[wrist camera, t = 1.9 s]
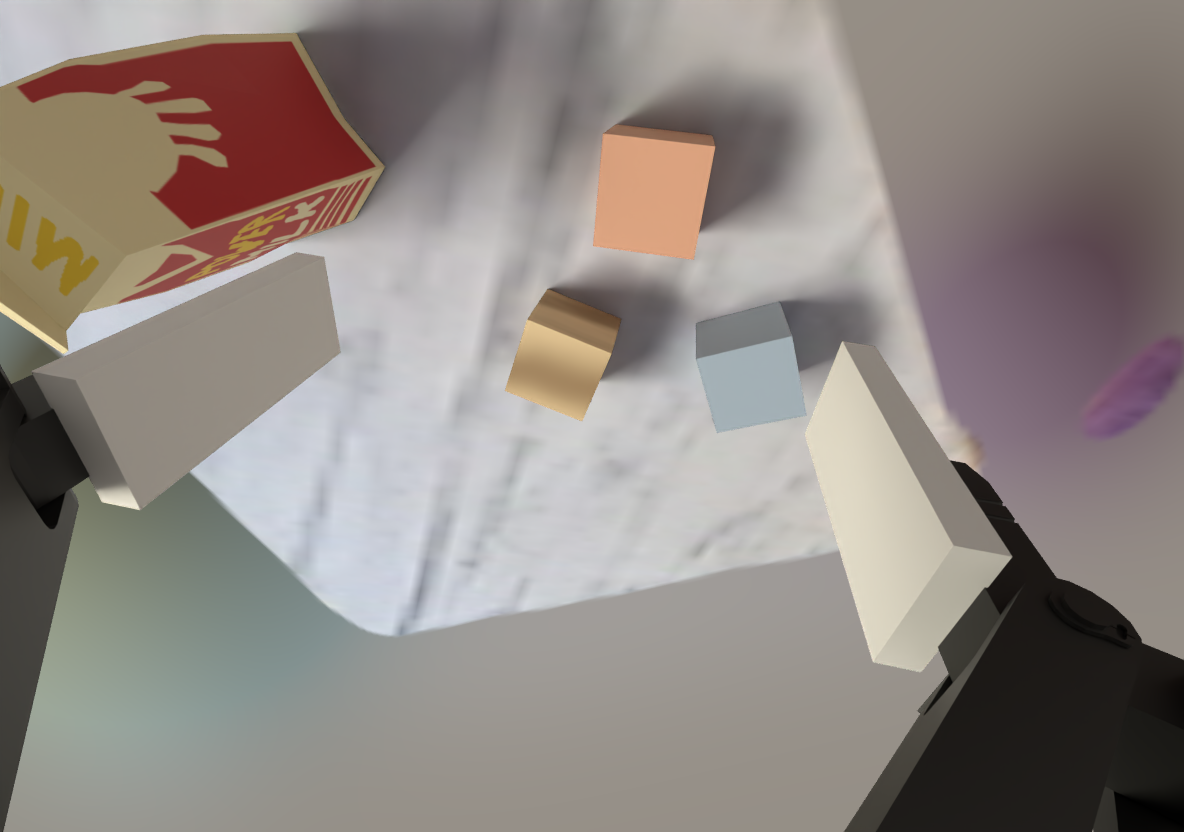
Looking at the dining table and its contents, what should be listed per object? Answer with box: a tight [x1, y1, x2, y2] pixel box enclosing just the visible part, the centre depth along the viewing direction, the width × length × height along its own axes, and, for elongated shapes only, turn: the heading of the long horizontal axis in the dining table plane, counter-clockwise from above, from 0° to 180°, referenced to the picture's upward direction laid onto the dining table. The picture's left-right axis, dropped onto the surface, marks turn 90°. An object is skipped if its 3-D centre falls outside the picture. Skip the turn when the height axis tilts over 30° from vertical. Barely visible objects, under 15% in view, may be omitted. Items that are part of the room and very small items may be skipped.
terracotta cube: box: [593, 124, 715, 260], centre depth 27 cm, size 5×5×5 cm
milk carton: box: [0, 33, 385, 354], centre depth 23 cm, size 9×9×20 cm
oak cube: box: [505, 289, 621, 421], centre depth 33 cm, size 5×5×5 cm
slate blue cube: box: [696, 302, 807, 433], centre depth 31 cm, size 5×5×5 cm
